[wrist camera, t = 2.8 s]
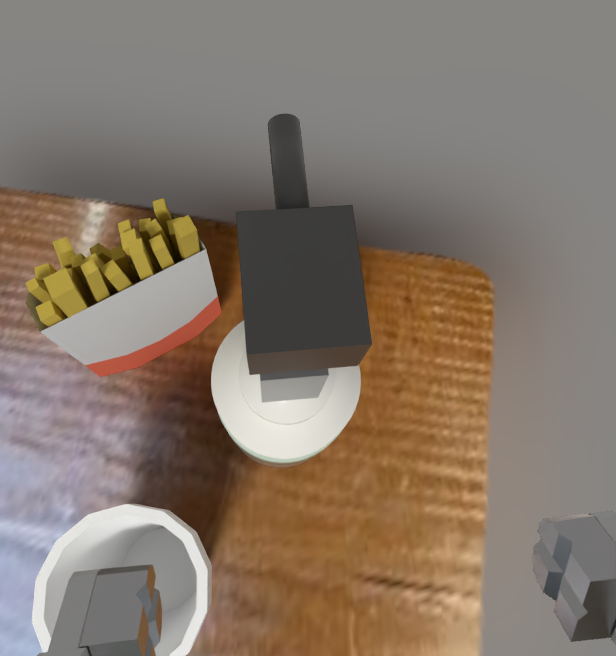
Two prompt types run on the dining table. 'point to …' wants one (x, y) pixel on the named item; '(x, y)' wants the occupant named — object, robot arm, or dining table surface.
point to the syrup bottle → (280, 405)
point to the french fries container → (127, 294)
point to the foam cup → (132, 550)
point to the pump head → (300, 272)
